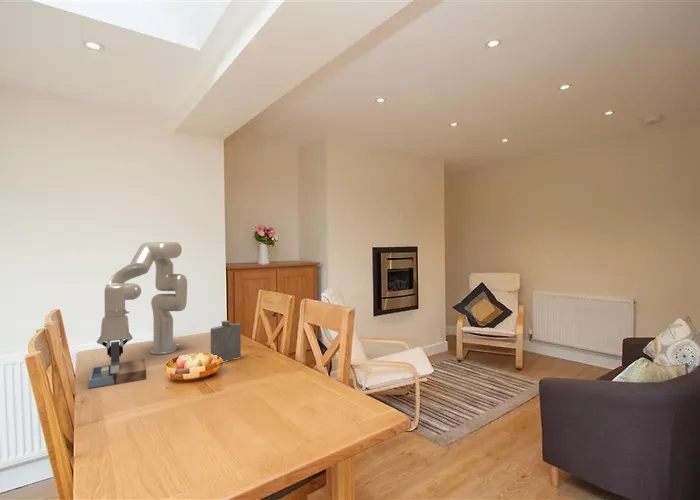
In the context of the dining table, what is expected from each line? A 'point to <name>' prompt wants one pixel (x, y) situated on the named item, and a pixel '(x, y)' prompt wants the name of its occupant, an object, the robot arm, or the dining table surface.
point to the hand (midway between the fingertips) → (115, 355)
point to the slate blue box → (96, 378)
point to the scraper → (115, 357)
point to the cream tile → (105, 365)
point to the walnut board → (131, 371)
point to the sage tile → (105, 372)
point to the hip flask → (226, 341)
